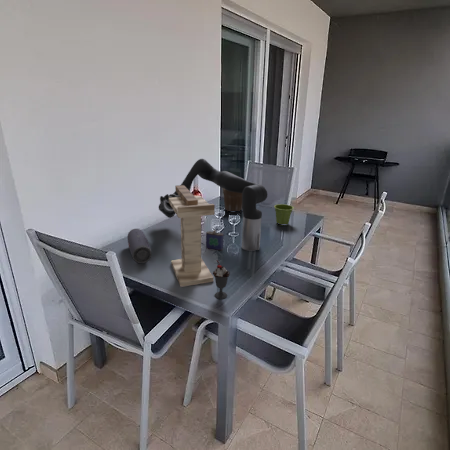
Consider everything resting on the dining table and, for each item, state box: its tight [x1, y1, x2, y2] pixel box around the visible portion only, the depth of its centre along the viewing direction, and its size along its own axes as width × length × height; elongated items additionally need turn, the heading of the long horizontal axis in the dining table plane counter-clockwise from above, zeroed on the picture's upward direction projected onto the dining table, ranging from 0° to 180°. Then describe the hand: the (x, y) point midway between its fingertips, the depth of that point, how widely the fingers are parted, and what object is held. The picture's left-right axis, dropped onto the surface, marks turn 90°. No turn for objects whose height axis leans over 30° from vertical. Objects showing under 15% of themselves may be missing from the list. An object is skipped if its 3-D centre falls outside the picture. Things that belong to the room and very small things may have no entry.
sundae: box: [212, 259, 231, 300], centre depth 121 cm, size 7×7×15 cm
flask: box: [205, 229, 225, 252], centre depth 160 cm, size 9×3×11 cm, turn 74°
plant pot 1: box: [221, 188, 242, 212], centre depth 218 cm, size 16×16×16 cm
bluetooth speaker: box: [127, 228, 152, 264], centre depth 152 cm, size 23×9×10 cm, turn 22°
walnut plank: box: [175, 184, 198, 206], centre depth 134 cm, size 24×4×2 cm, turn 20°
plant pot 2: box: [273, 203, 295, 225], centre depth 196 cm, size 12×12×11 cm
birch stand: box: [169, 195, 216, 288], centre depth 133 cm, size 20×14×34 cm
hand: (176, 195), depth 154 cm, fingers open, 8 cm apart
